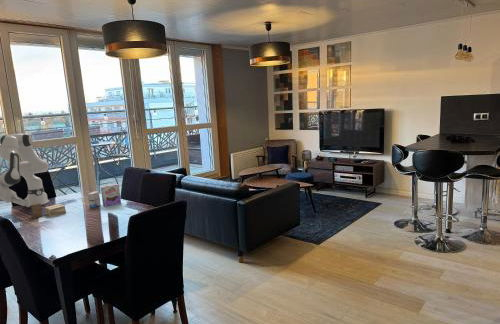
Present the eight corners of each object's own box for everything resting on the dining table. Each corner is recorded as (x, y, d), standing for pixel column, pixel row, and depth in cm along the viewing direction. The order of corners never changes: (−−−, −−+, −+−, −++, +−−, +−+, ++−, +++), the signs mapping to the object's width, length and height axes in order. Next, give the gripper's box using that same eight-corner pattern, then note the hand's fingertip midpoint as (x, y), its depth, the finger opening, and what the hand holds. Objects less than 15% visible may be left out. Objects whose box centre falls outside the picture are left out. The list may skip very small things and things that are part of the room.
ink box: (94, 207, 280) (92, 193, 278) (89, 207, 281) (87, 193, 279) (101, 204, 288) (99, 191, 286) (95, 204, 289) (94, 191, 287)
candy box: (103, 206, 281) (101, 187, 278) (102, 205, 286) (100, 186, 283) (121, 203, 287) (118, 184, 285) (120, 202, 292) (117, 183, 290)
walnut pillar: (32, 216, 264) (30, 204, 263) (39, 215, 268) (37, 202, 267) (35, 217, 261) (33, 205, 260) (42, 216, 265) (40, 203, 263)
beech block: (46, 214, 269) (44, 207, 268) (61, 210, 277) (59, 203, 276) (50, 217, 262) (49, 209, 261) (66, 213, 270) (64, 205, 269)
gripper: (17, 194, 244) (35, 203, 253) (7, 191, 257) (24, 200, 266) (11, 201, 242) (29, 211, 251) (2, 198, 254) (19, 207, 263)
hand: (26, 205), depth 258 cm, fingers open, 8 cm apart
